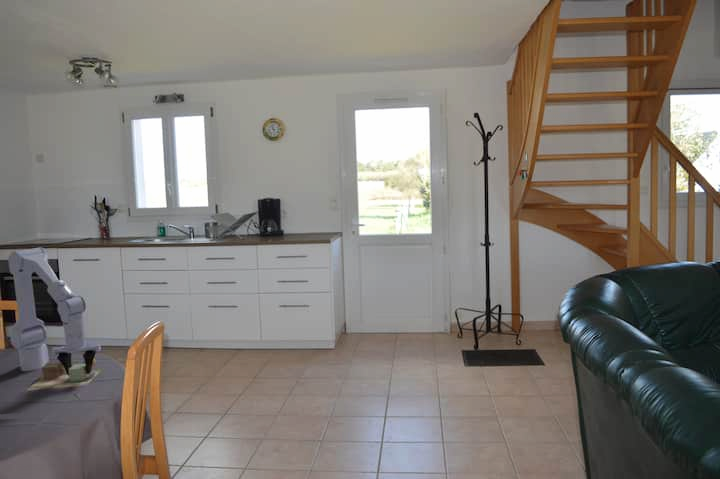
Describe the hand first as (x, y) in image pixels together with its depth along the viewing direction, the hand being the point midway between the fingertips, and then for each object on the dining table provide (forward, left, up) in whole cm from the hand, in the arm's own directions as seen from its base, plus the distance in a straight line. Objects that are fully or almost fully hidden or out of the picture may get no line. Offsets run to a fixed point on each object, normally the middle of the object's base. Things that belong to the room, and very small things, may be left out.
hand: (79, 373), depth 177 cm
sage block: (0, 0, -2) cm, 2 cm away
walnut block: (-4, -10, -2) cm, 11 cm away
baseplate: (0, -4, -3) cm, 5 cm away
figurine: (-12, -2, -3) cm, 13 cm away
